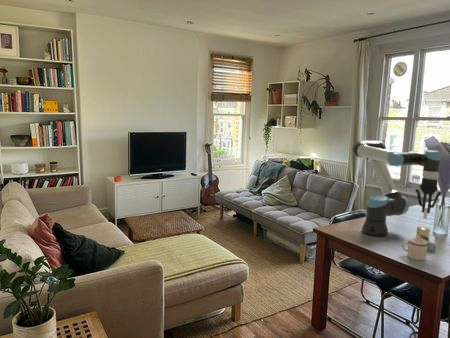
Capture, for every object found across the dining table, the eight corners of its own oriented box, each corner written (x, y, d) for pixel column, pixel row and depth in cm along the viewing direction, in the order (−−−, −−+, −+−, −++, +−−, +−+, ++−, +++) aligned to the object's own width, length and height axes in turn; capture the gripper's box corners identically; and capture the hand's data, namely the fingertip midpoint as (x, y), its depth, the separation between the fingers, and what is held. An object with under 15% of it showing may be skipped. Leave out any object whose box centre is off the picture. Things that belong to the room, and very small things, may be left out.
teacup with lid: (426, 255, 180) (428, 235, 178) (426, 262, 173) (428, 241, 170) (401, 250, 186) (403, 231, 184) (400, 257, 179) (402, 236, 176)
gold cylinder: (420, 247, 191) (422, 230, 189) (412, 242, 197) (414, 226, 196) (430, 246, 192) (432, 230, 190) (422, 242, 198) (424, 226, 196)
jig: (433, 250, 186) (434, 243, 186) (409, 245, 193) (409, 238, 192) (433, 243, 196) (434, 236, 196) (410, 239, 203) (411, 232, 202)
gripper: (415, 177, 188) (411, 217, 192) (443, 180, 180) (437, 222, 185) (417, 175, 194) (413, 214, 198) (444, 178, 186) (438, 218, 191)
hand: (425, 218), depth 192 cm, fingers closed
